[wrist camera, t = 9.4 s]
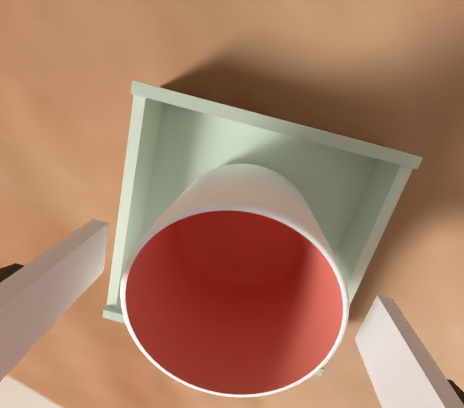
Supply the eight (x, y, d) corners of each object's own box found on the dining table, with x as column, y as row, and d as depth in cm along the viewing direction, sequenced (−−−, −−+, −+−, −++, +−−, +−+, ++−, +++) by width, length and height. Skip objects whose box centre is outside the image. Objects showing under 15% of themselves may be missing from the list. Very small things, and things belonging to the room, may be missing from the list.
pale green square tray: (159, 87, 20) (132, 80, 16) (388, 147, 20) (423, 157, 16) (128, 282, 25) (102, 317, 21) (310, 332, 25) (320, 376, 21)
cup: (336, 198, 21) (401, 272, 11) (270, 301, 24) (278, 427, 14) (209, 136, 20) (166, 158, 11) (159, 250, 23) (91, 346, 14)
